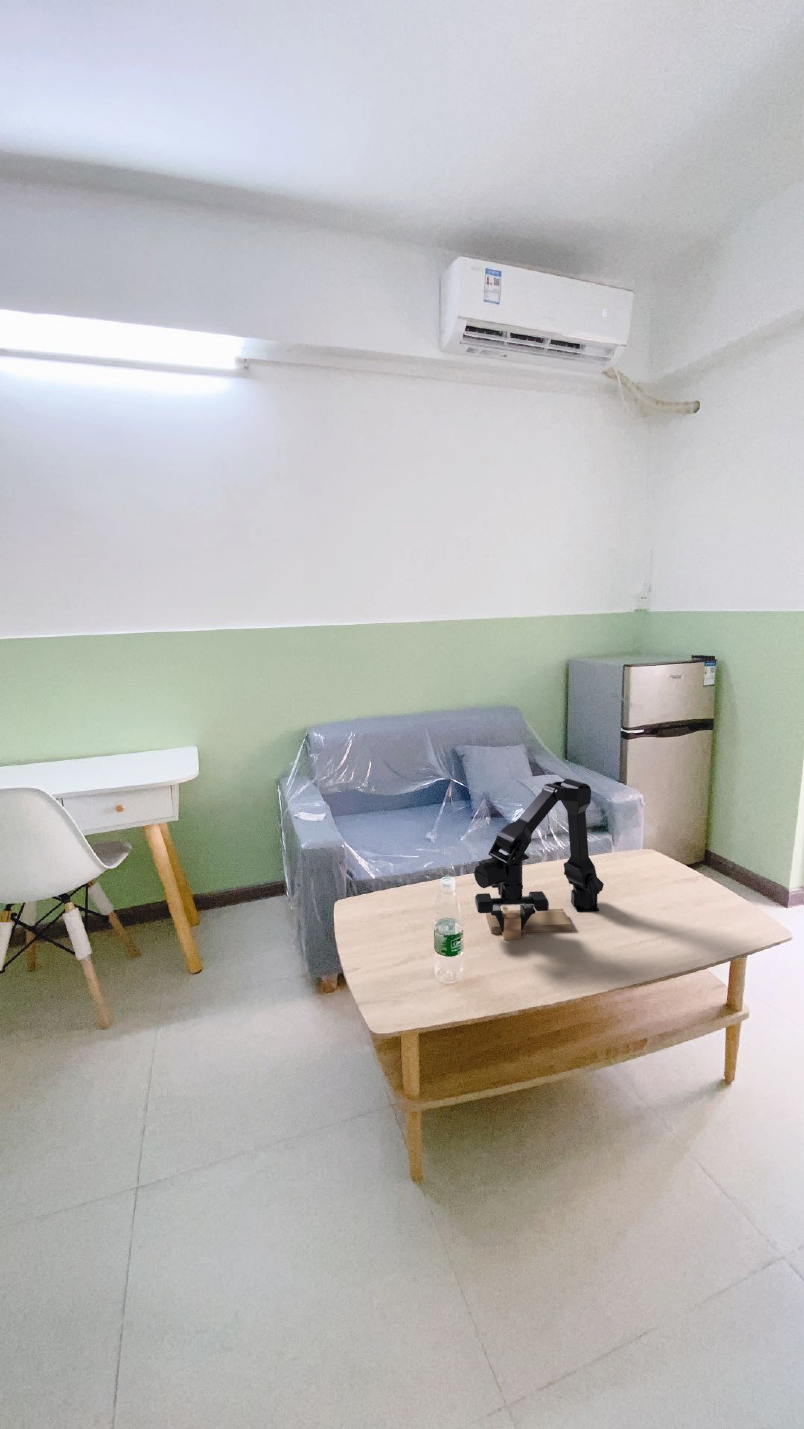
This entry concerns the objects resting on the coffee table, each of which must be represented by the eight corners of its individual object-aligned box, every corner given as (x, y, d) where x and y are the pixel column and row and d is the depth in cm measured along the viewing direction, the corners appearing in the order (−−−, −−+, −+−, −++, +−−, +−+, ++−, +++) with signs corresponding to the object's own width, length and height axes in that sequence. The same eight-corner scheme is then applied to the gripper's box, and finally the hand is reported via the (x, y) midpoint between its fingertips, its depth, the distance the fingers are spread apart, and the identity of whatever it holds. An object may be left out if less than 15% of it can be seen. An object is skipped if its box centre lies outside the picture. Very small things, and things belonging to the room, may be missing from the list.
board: (562, 915, 156) (562, 908, 155) (571, 930, 148) (571, 923, 148) (486, 917, 156) (486, 911, 155) (491, 933, 148) (491, 926, 147)
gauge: (512, 917, 155) (512, 898, 154) (520, 939, 145) (521, 918, 144) (496, 918, 155) (496, 899, 154) (504, 939, 145) (504, 919, 144)
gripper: (538, 862, 151) (537, 913, 154) (471, 865, 151) (472, 916, 154) (549, 881, 140) (549, 936, 143) (478, 884, 140) (478, 939, 143)
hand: (511, 931), depth 146 cm, fingers closed on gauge, 4 cm apart
